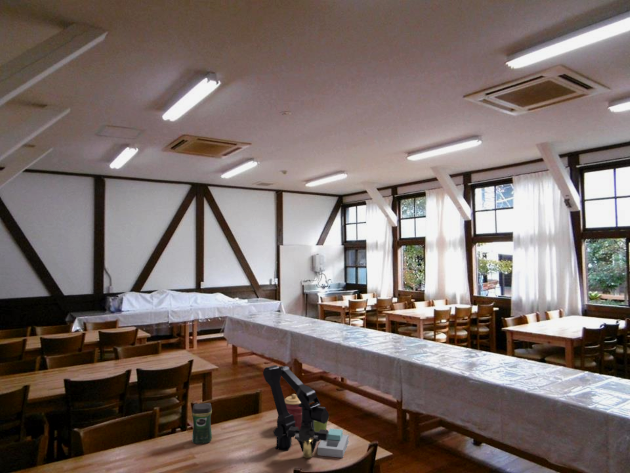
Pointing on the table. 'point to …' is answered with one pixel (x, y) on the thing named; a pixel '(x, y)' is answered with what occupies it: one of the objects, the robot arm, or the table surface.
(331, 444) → the jig
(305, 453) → the brass cylinder
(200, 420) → the coffee jar
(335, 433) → the teal block
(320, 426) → the plant pot
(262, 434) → the table surface
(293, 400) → the canister
